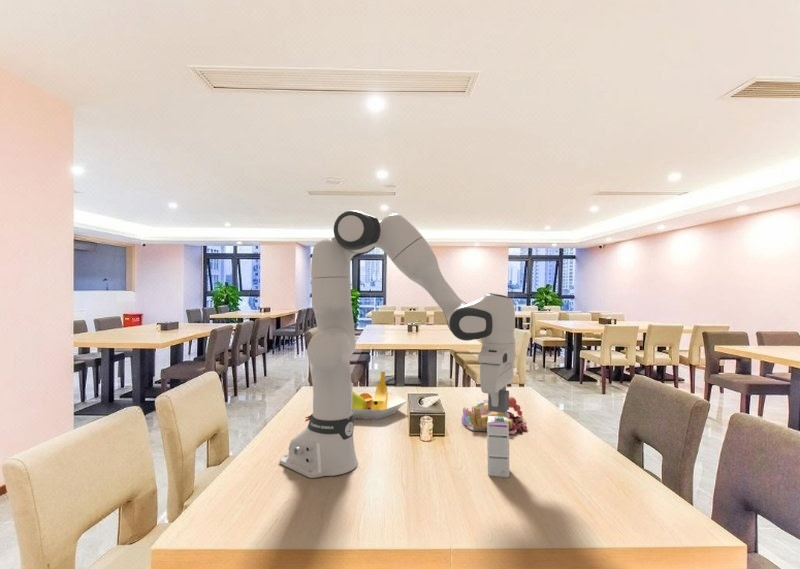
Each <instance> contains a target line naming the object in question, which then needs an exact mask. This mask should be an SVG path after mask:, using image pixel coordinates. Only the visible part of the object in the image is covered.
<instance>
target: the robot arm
mask: <svg viewBox="0 0 800 569" xmlns="http://www.w3.org/2000/svg"><path fill="white" fill-rule="evenodd" d="M333 235H334V237H331V238H325V239H322V240H319V241H318V242H316V244H314V246H313V250H312V255H311V263H310V265H311V266H310V278H311V279H310V285H311V286H310V288H311V306H312V310H313V313H314V317H315V323H316V328H317V329H316V330H317V332H316V333H315V334H314V335H313V336H311V339H310V341H309V343H308V344H307V350H306V355H307V359H308V362H309V370H310V375H311V376H310V377H311V382H312V414H310V415H308V416H306V417H305V420H304V422H308V425H307V427H305V428H304V429H303V430H301V431H300V432H299V433H298V434H297V435H296V436H294V437H293V438H292V439H291V440H290V442H289V447H288V452H286V453H285V454H284V455H282V457H281V458H280V460H279V464H280V465H283V466H284V467H286V468H288V469H291V470H293V471H295V472H297V473H298V474H301V475H303V476H305V477H307V478H310V479H315V478H320V477H328V476H329V477H330V476H339V475H343V474H346V473H349V472H351V471H353V470H354V469H355V468H357V467H358V464H359V462H358V459H357V455H356V450H355V444H354V443H355V442H354V427H355V418H354V414H353V413H352V391H353V388H354V387H353V381H352V374H351V362H350V361H351V360H350V359H351V356H352V355H353V354H354V352H355V350H356V346H357V341H356V340H357V338H356V330H355V321H354V314H353V307H352V290H351V289H352V287H351V286H352V285H351V260H352V259H353V258H357V257H359V256H363V255H365V254H368V253H370V252H372V251H374V250H375V249H376V248H379V249H380V250H382V251H383V252H384V253H385V254H386V255H387V257H388V258H389V259H390V261H391V262H392V263H393V264H394V265H395V267H396V268H397V269H398V270H399V271H400V272H401V273H402V274H403V275H404V276H406V277H407V278H408V279H409V280H411V281H412V282H414V283H415V284H417V285H419V286H420V287H421V288H423V289H424V290H425V291H426V292H427V294H429V296H431V298H432V299H433V300H434V302H435V304H437V305H438V307H439V308H440V309H441V311H442V312H443V314H444V316H445V319H446V320H445V321H446V324H447V327H448V329H449V331H450V332H451V333H452V335H453V336H454V337H456V338H457V339H458V340H461V341H463V342H464V341H465V342H470V341H474V340H479V339H481V341H482V342H481V350H480V352H479V353H478V355H477V361H478V363H479V381H480V382H479V384H480V389H481V392H482V393H483V394H487V395H488V394H490V397H491V405H492V406H495V407H497V406H498V405H499V397H498V394H499V390H507V387H508V386H507V385H509V384H510V383H511V382H512V381H513V380H514V361H516V338H515V334H514V333H515V329H516V312H515V304H514V301H513V300H512V298H510V297H509V296H507V295H505V294H504V295H503V294H500V293H499V294H498V293H493V292H488V293H485V294H484V295H483V296H481V297H480V298H478V299H475V300H474V301H471V302H469V303H467V302H465V301H463V300H462V299H461V298H460V297H459V295H458V294H457V293H456V292H455V291H454V289H453V287H451V286H450V285H449V283H448V282H447V280H446V279H445V278H444V276H443V274H442V272H441V269H440V265H439V262H438V260H437V257H436V254H435V253H434V251H433V249H432V247H431V245H430V244H429V243H428V241H427V240H426V239H425V237H424V236H423V235H422V234H421V232H419V230H418V229H417V228H416V227H415V226H414V225H413V223H411V222H410V221H408V219H407V218H405V217H404V216H403V215H401V214H399V213H392V214H388V215H385V216H384V217H382V219H380V220H378V218H377V217H375V216H373V215H370V214H367V213H366V212H363V211H359V210H353V209H352V210H346V211H344V212H342V213H341V214H340V215H339V216H337V218H336V219H335V221H334V224H333Z"/></svg>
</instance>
